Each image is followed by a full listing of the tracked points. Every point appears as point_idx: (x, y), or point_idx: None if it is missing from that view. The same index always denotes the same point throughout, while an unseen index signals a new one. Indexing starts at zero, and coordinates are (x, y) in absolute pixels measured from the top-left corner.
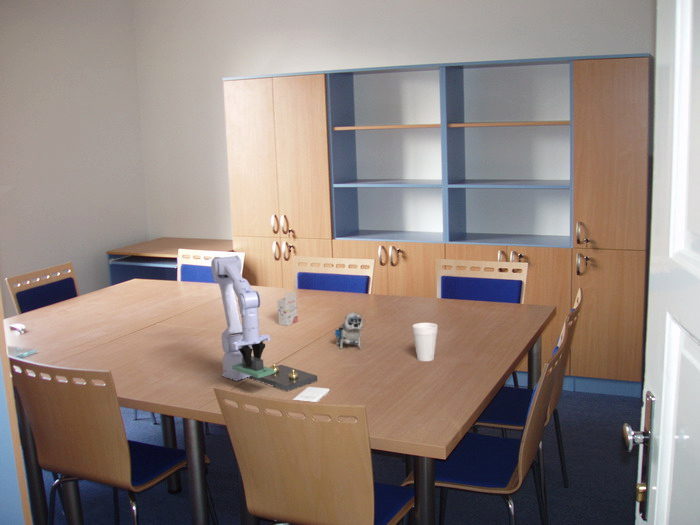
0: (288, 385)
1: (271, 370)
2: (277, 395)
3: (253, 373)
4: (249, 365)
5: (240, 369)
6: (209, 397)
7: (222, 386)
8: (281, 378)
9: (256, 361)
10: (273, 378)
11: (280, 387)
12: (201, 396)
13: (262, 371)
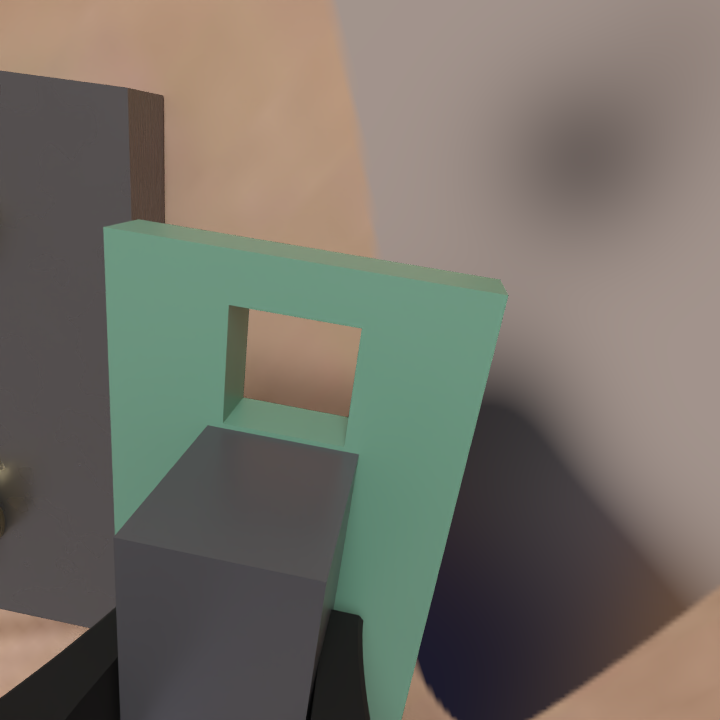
0: (99, 84)
1: (171, 248)
2: (309, 103)
3: (473, 428)
4: (360, 642)
5: (405, 696)
6: (682, 628)
7: (415, 683)
8: (20, 331)
9: (300, 586)
10: (78, 402)
11: (153, 215)
12: (688, 689)
13: (249, 411)
